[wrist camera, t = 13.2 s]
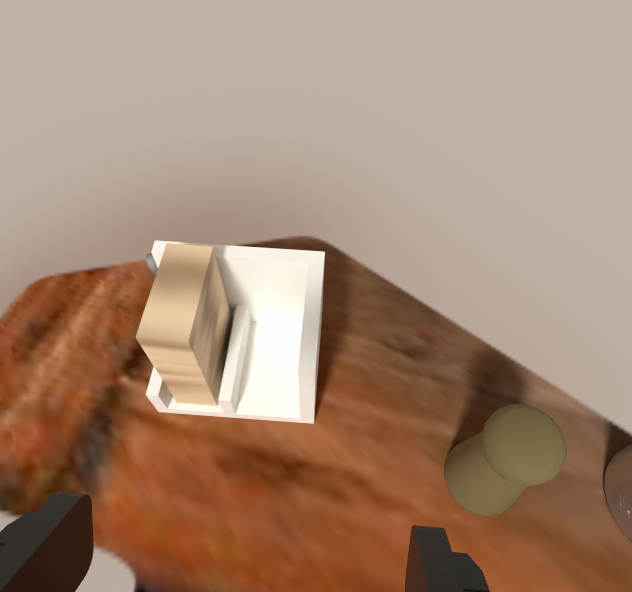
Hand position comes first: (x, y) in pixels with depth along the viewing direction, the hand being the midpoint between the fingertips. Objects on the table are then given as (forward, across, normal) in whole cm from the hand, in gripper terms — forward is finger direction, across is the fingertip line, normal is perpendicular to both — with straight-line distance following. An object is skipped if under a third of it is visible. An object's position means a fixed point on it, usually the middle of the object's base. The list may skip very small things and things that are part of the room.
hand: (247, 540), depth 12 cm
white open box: (+32, +7, +8) cm, 33 cm away
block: (+31, +10, +7) cm, 33 cm away
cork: (+26, -15, +14) cm, 33 cm away
